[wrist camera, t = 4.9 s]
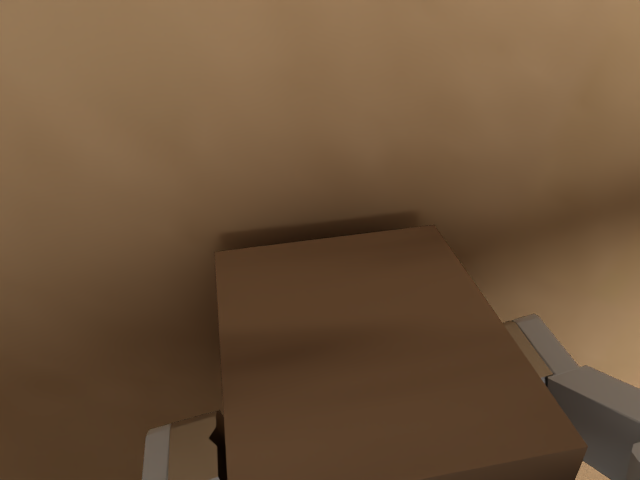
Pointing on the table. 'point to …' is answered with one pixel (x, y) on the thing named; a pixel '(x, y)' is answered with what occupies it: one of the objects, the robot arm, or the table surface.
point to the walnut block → (377, 368)
